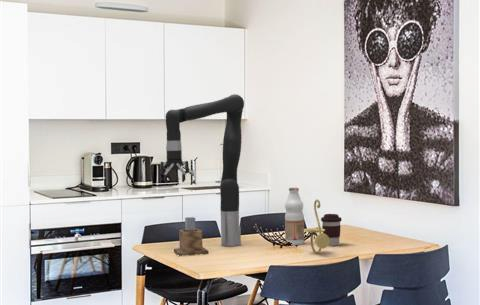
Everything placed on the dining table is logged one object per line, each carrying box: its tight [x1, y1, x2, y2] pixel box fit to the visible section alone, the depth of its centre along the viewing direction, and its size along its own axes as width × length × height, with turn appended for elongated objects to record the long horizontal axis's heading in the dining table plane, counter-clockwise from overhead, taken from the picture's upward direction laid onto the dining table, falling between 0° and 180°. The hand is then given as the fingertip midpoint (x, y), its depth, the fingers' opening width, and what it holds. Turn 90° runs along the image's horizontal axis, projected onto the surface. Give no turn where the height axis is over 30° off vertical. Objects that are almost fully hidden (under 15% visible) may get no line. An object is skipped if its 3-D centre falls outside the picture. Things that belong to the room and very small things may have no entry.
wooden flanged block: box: [173, 228, 210, 257], centre depth 284 cm, size 14×12×10 cm
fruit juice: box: [284, 187, 305, 246], centre depth 303 cm, size 9×9×28 cm
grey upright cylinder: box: [184, 216, 197, 232], centre depth 284 cm, size 4×4×10 cm
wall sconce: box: [304, 198, 329, 255], centre depth 275 cm, size 14×10×25 cm
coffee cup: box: [320, 213, 342, 247], centre depth 297 cm, size 10×10×15 cm
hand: (174, 182), depth 303 cm, fingers open, 8 cm apart
